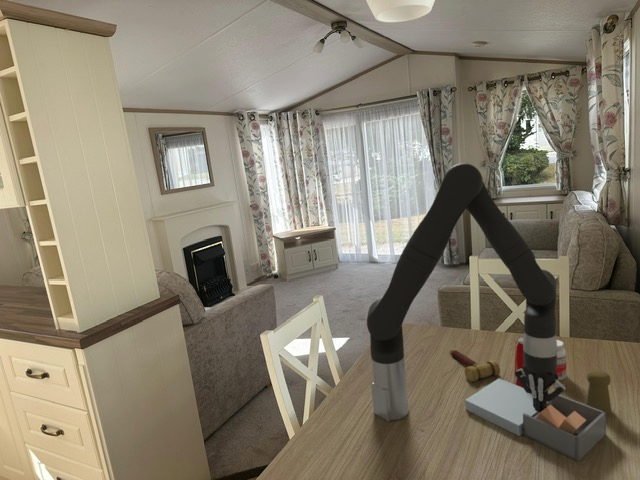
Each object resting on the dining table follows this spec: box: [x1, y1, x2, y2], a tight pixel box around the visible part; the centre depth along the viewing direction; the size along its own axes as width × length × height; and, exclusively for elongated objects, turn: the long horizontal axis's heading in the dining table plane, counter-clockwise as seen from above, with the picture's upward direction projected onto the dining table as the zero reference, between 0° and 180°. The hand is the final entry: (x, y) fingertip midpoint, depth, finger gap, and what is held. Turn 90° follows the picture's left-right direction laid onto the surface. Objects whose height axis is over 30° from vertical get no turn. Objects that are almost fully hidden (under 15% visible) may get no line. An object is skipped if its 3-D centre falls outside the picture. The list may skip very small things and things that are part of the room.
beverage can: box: [513, 336, 528, 388], centre depth 128 cm, size 6×6×15 cm
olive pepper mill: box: [584, 368, 613, 417], centre depth 114 cm, size 6×6×11 cm
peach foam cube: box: [536, 405, 566, 428], centre depth 109 cm, size 5×5×3 cm
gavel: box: [449, 349, 501, 383], centre depth 145 cm, size 21×5×10 cm
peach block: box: [559, 411, 586, 435], centre depth 105 cm, size 5×5×3 cm
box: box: [522, 391, 607, 463], centre depth 107 cm, size 14×13×6 cm
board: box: [464, 377, 551, 437], centre depth 119 cm, size 16×16×3 cm
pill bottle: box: [556, 339, 567, 381], centre depth 132 cm, size 6×6×11 cm
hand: (539, 410), depth 112 cm, fingers closed
